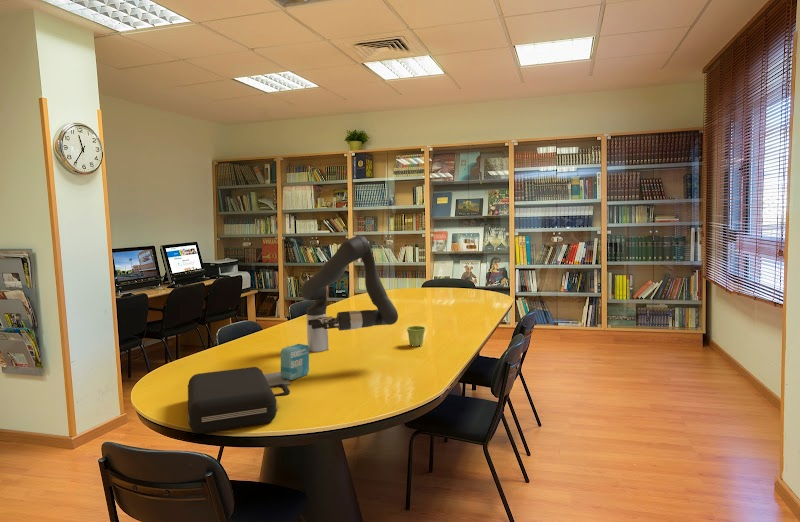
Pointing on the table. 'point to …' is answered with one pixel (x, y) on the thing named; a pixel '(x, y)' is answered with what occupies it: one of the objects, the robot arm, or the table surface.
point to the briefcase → (231, 400)
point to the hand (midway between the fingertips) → (309, 324)
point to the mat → (276, 379)
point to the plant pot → (416, 335)
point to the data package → (294, 361)
